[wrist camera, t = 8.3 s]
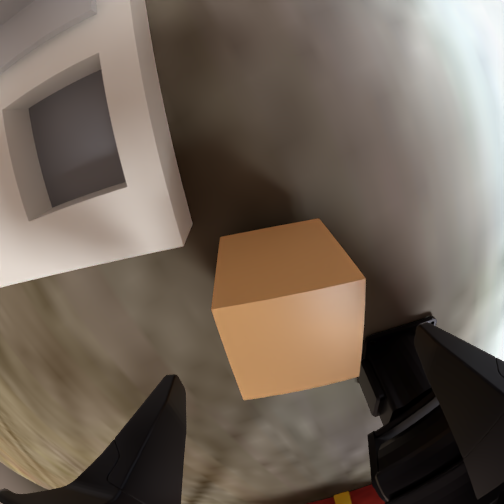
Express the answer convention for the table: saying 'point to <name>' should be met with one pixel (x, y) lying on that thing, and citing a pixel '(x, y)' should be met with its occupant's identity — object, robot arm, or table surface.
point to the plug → (288, 308)
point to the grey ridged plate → (36, 24)
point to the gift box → (354, 497)
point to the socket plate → (87, 151)
